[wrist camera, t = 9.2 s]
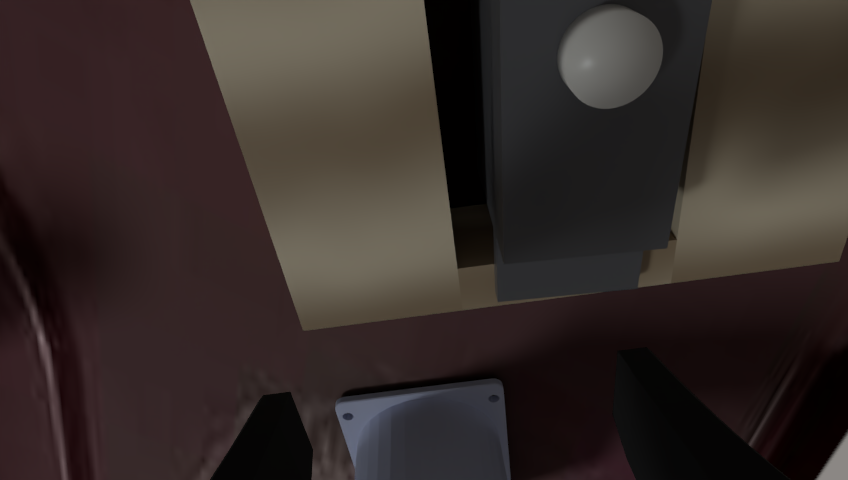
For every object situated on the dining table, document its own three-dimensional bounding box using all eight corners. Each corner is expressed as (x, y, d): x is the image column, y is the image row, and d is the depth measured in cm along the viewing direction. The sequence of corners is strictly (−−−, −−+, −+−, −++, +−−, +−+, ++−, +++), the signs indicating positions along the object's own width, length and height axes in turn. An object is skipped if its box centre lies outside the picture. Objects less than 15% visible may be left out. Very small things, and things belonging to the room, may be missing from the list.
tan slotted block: (771, 203, 21) (838, 261, 18) (317, 264, 22) (303, 331, 19) (875, -228, 14) (1017, -261, 11) (203, -118, 15) (149, -119, 12)
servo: (594, 216, 21) (665, 335, 16) (479, 227, 22) (509, 350, 16) (628, -163, 15) (771, -193, 9) (463, -145, 15) (504, -163, 9)
